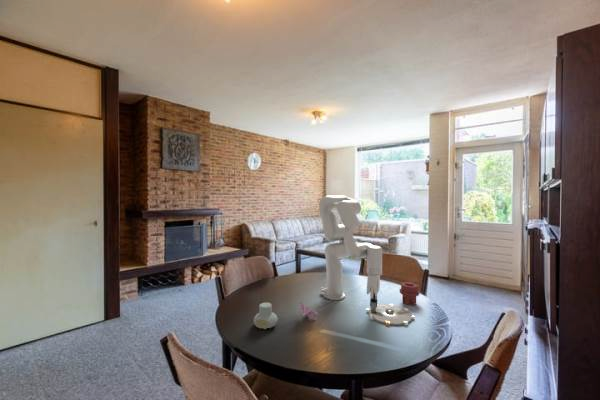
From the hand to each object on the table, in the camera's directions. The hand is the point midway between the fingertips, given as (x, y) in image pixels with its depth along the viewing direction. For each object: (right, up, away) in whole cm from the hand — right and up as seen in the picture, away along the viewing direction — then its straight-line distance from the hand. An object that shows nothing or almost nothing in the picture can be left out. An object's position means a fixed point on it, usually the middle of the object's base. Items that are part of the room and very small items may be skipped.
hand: (373, 306), depth 139 cm
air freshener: (-53, -5, -11) cm, 54 cm away
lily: (-34, -5, -6) cm, 35 cm away
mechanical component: (+23, -4, +12) cm, 26 cm away
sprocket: (+7, -3, -4) cm, 8 cm away
